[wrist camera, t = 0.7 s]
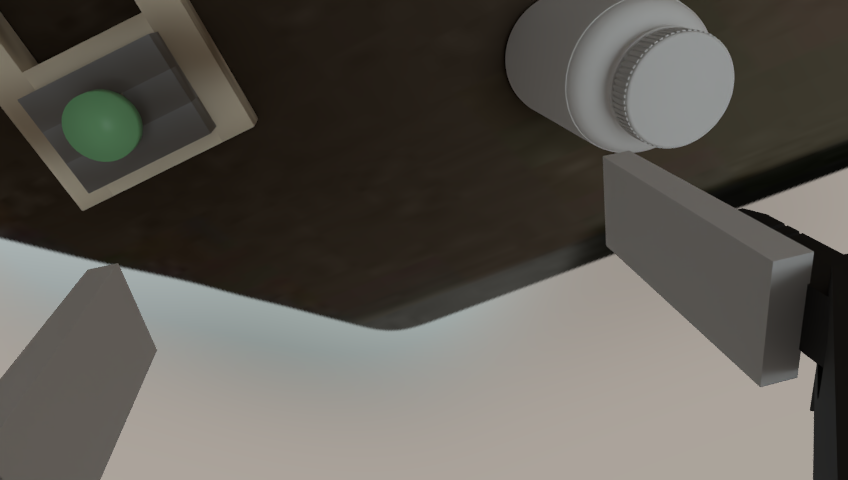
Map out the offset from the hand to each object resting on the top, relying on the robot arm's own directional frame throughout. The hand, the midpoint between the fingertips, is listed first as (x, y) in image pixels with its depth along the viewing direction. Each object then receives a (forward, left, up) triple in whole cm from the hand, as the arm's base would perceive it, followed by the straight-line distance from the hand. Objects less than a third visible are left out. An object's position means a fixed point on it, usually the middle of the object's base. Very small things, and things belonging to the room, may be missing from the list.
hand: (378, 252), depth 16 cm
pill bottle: (+4, +14, -25) cm, 29 cm away
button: (-5, -12, -21) cm, 24 cm away
